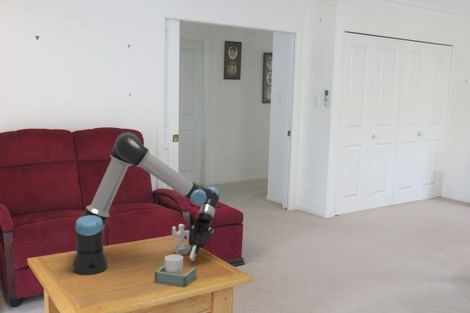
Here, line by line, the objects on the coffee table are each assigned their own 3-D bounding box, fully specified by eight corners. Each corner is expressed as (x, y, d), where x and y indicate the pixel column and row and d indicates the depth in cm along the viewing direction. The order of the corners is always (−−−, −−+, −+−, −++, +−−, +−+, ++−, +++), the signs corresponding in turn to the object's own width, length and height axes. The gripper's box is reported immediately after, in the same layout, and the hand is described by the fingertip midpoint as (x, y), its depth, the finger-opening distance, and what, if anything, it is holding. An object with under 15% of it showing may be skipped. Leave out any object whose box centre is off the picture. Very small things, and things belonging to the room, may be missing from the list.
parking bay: (154, 281, 203) (154, 271, 203) (166, 272, 214) (166, 263, 213) (185, 286, 199) (185, 276, 198) (196, 277, 209) (196, 267, 209)
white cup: (179, 284, 201) (179, 261, 200) (162, 282, 203) (161, 259, 202) (185, 277, 209) (185, 255, 208) (168, 275, 211) (168, 253, 209)
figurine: (192, 254, 239) (193, 225, 237) (175, 257, 234) (175, 227, 232) (187, 250, 245) (187, 221, 243) (170, 252, 241) (169, 223, 239)
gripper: (219, 221, 235) (206, 264, 222) (195, 218, 239) (181, 261, 226) (216, 213, 229) (202, 257, 216) (191, 210, 234) (176, 253, 220)
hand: (191, 259), depth 221 cm, fingers closed
